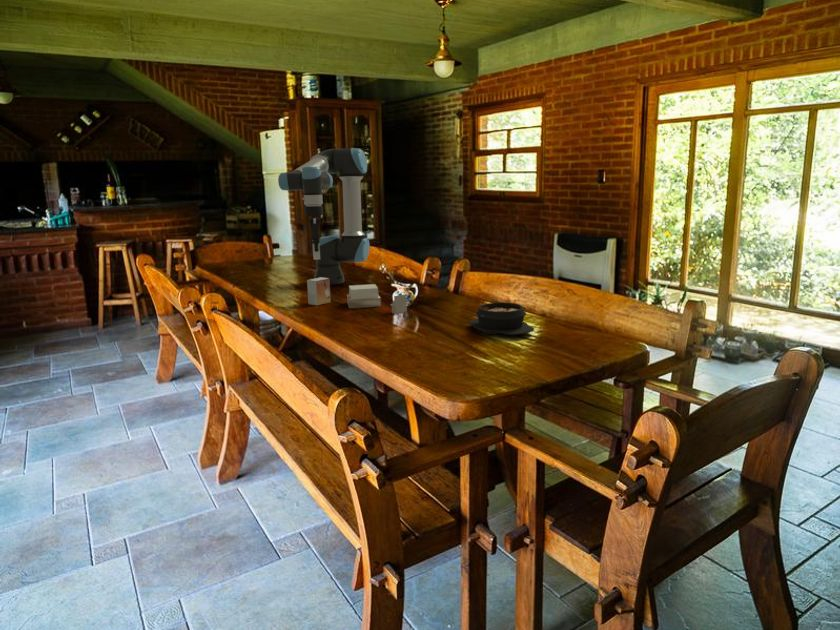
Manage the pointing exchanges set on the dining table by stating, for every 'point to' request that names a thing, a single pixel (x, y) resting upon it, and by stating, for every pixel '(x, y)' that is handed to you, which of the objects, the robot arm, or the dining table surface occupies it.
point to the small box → (318, 291)
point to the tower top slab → (363, 291)
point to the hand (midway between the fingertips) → (316, 257)
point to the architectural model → (399, 304)
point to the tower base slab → (363, 302)
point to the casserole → (501, 319)
